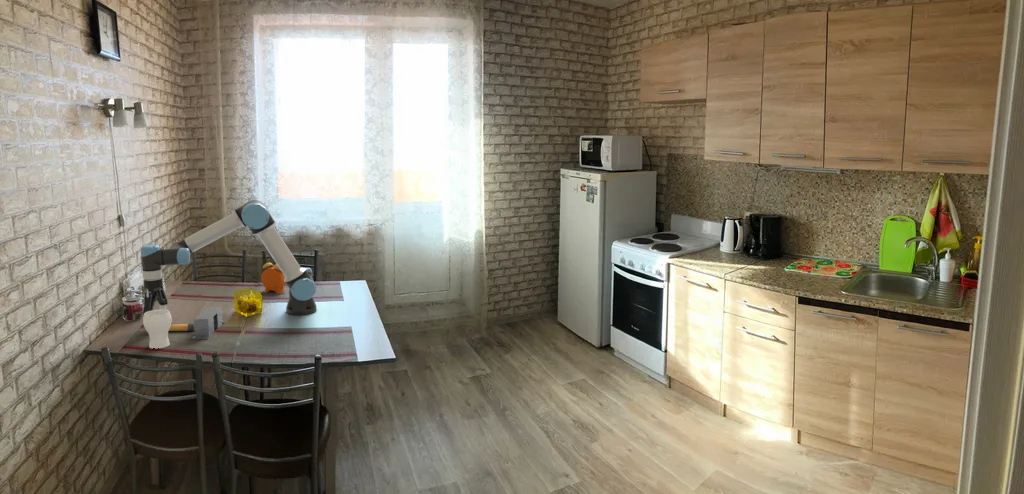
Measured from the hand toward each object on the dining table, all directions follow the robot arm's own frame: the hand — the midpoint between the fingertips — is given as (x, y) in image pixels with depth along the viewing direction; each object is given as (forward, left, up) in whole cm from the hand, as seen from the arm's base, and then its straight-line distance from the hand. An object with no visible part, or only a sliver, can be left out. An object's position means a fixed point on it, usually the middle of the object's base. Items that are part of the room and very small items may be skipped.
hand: (157, 323), depth 282 cm
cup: (-9, +20, -4) cm, 22 cm away
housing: (-23, 0, -4) cm, 23 cm away
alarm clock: (-37, -68, -4) cm, 77 cm away
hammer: (-7, 0, -4) cm, 8 cm away
